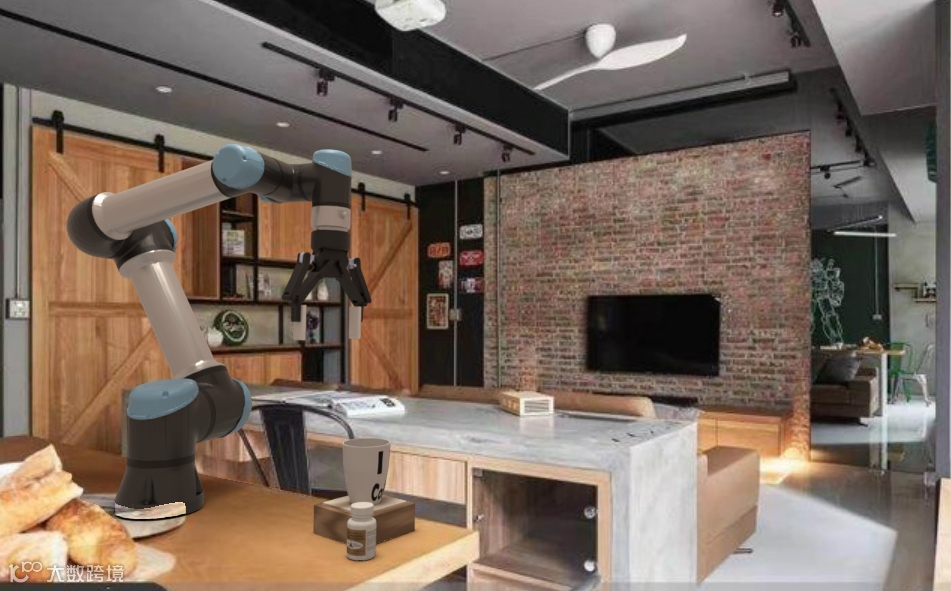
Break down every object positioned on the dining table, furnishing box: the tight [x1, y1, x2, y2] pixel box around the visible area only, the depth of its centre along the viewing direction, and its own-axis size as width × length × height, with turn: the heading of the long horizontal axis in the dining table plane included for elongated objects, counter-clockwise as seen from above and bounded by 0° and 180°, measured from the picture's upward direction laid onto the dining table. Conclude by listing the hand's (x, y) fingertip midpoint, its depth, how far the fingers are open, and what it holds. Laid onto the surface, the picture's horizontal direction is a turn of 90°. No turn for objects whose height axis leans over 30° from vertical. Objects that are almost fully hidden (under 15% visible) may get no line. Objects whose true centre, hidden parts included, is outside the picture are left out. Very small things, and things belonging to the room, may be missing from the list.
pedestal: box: [312, 494, 416, 544], centre depth 112 cm, size 12×12×5 cm
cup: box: [342, 437, 392, 505], centre depth 112 cm, size 8×8×10 cm
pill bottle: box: [346, 502, 377, 561], centre depth 100 cm, size 4×4×8 cm
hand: (328, 339), depth 128 cm, fingers open, 13 cm apart
